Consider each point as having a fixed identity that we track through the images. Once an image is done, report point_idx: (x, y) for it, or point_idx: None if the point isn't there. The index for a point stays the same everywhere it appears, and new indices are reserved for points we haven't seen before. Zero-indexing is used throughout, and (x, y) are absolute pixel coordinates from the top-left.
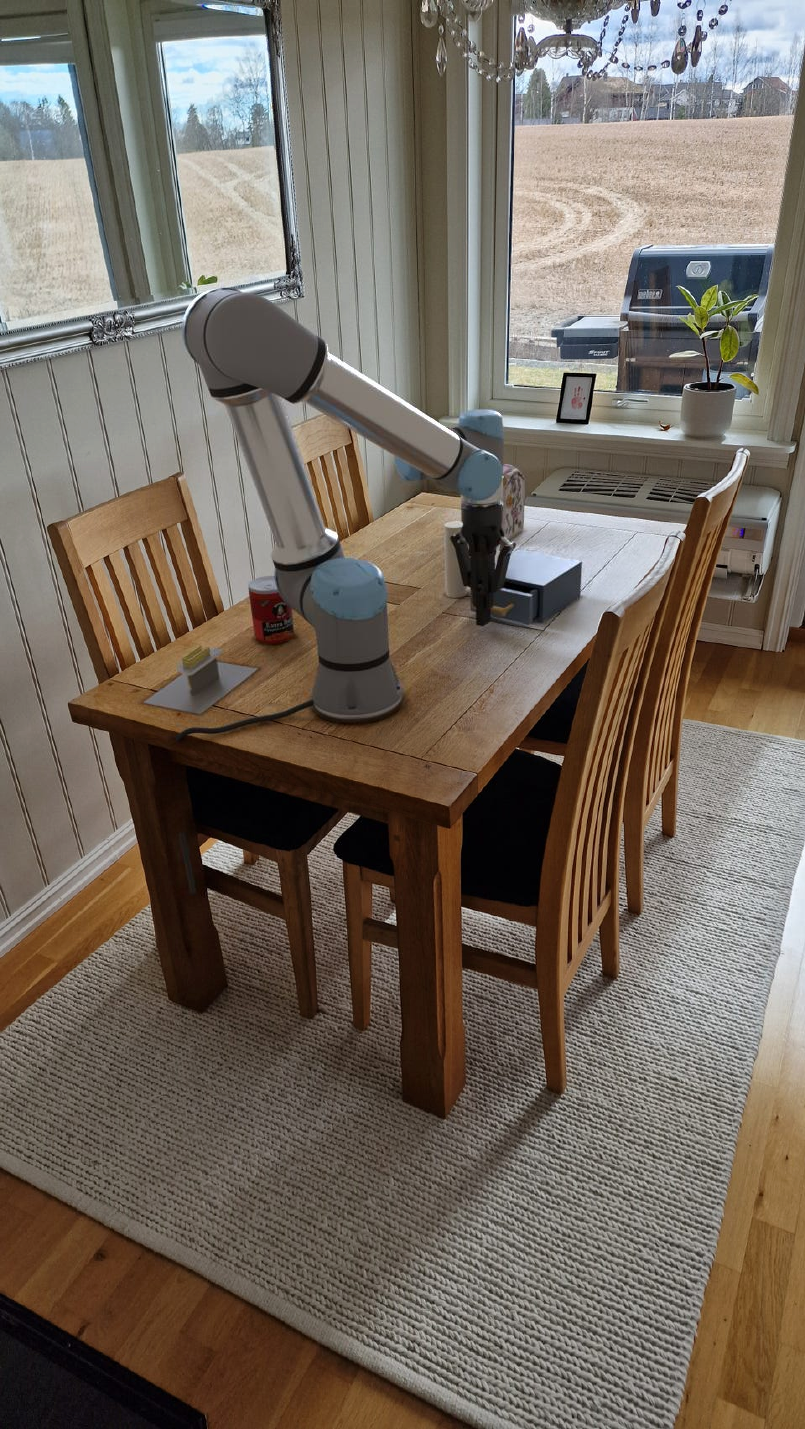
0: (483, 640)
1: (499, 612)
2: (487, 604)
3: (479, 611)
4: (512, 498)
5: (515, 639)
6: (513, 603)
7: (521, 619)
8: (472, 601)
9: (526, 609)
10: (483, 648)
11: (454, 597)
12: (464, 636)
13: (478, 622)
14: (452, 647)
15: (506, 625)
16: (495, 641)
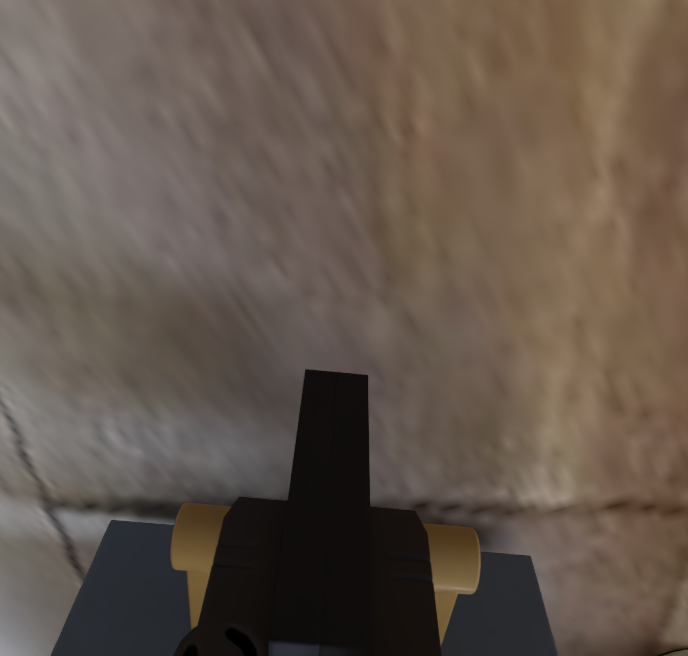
0: (275, 272)
1: (205, 520)
2: (247, 542)
3: (330, 463)
4: None
5: (98, 365)
6: None
7: (160, 544)
8: (531, 616)
9: (96, 611)
10: (194, 145)
11: (685, 651)
12: (437, 277)
13: (345, 389)
14: (443, 42)
15: (266, 496)
16: (190, 291)
